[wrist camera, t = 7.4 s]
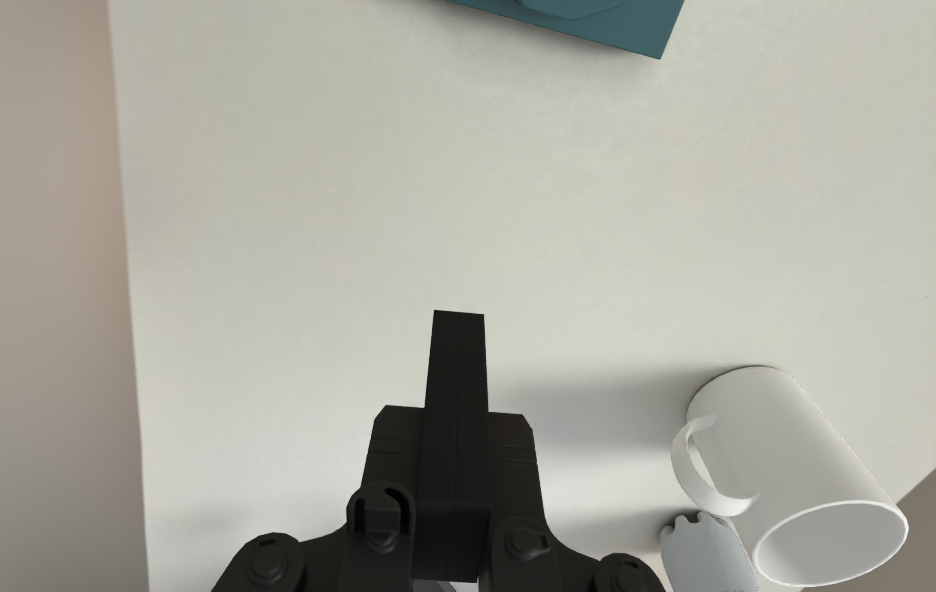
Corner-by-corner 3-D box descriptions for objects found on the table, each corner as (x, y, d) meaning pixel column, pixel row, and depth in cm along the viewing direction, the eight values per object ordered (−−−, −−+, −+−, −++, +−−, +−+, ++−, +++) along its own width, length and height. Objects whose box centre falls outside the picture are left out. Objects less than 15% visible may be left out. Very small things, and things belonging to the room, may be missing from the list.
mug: (825, 383, 36) (944, 521, 27) (752, 456, 40) (834, 598, 31) (673, 331, 33) (748, 464, 24) (611, 414, 37) (656, 555, 28)
